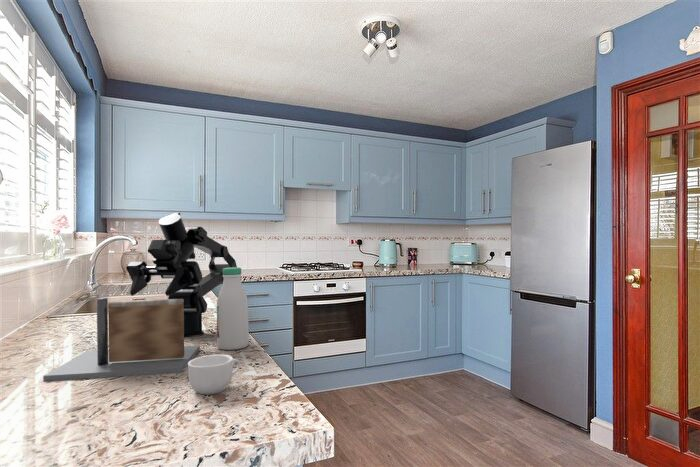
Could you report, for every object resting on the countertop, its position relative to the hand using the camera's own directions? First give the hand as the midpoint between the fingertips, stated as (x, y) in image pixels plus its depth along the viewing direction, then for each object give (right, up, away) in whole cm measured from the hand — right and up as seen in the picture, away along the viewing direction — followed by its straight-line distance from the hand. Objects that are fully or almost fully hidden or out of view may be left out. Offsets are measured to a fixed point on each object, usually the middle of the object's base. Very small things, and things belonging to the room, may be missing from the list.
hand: (148, 294), depth 101 cm
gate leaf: (+5, -13, -11) cm, 17 cm away
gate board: (0, -14, -9) cm, 17 cm away
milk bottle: (+19, -14, +4) cm, 24 cm away
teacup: (+25, -14, -25) cm, 38 cm away
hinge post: (-4, -13, -12) cm, 18 cm away
